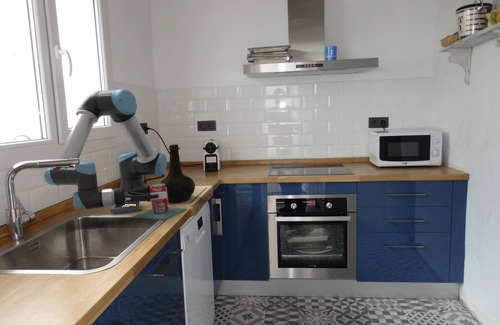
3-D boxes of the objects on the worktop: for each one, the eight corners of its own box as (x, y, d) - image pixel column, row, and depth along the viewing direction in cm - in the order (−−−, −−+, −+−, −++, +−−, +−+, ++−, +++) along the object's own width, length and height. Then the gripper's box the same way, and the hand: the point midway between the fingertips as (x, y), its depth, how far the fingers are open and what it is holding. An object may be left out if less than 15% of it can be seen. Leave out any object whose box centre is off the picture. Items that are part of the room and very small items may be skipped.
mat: (158, 207, 169) (158, 206, 169) (186, 210, 162) (186, 208, 162) (133, 217, 155) (133, 215, 155) (163, 220, 148) (163, 218, 148)
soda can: (162, 208, 163) (159, 182, 162) (172, 211, 159) (169, 183, 157) (148, 212, 158) (146, 185, 156) (158, 215, 153) (156, 187, 152)
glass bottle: (167, 206, 170) (162, 147, 166) (154, 200, 185) (149, 145, 181) (202, 200, 180) (197, 143, 176) (187, 194, 195) (183, 142, 191)
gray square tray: (113, 207, 174) (113, 203, 174) (139, 204, 177) (139, 200, 177) (111, 214, 162) (110, 209, 162) (139, 210, 165) (138, 206, 165)
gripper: (117, 199, 165) (165, 194, 170) (112, 213, 141) (168, 206, 146) (115, 183, 164) (164, 178, 169) (110, 194, 140) (166, 188, 145)
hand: (166, 191), depth 158 cm, fingers open, 13 cm apart
